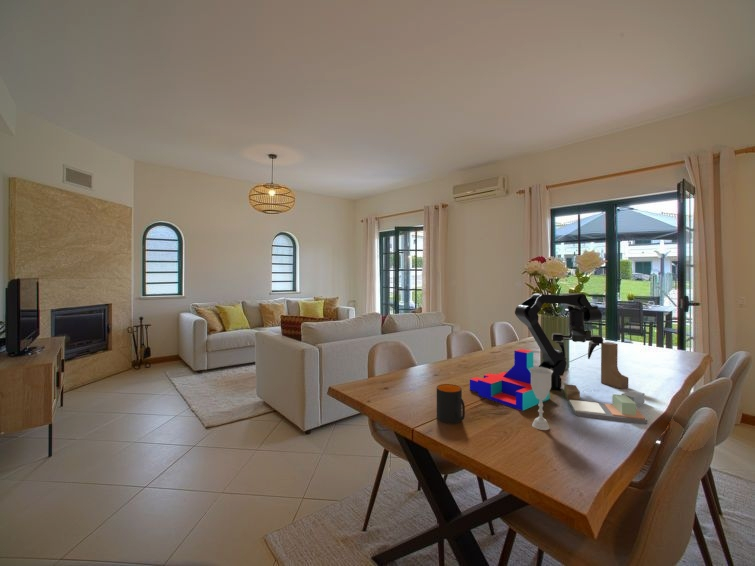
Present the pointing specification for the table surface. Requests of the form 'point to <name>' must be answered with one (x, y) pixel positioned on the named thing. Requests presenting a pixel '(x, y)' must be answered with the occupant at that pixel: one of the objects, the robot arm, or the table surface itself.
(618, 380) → the wooden block
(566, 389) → the walnut brick
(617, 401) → the sage brick
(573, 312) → the robot arm
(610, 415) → the tile board
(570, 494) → the table surface
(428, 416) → the table surface
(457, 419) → the mug
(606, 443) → the table surface
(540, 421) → the chalice
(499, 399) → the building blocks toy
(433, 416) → the table surface
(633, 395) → the slate brick
